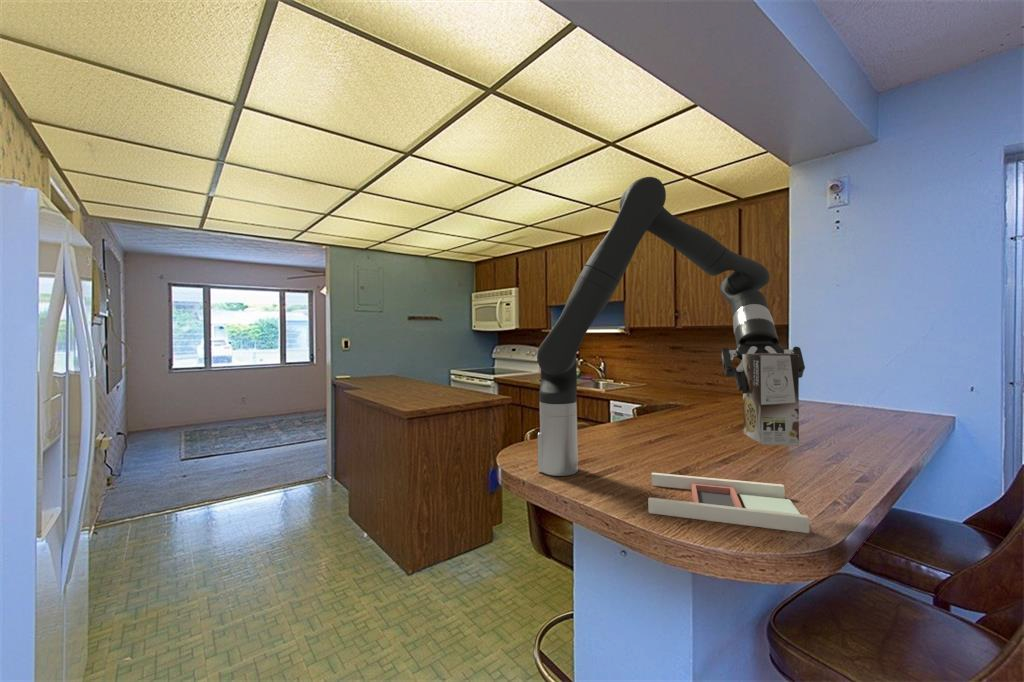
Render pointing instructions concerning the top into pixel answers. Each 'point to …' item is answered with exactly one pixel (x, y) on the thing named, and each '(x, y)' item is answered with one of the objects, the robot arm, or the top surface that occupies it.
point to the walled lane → (726, 512)
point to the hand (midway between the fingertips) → (767, 391)
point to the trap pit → (715, 495)
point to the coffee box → (772, 398)
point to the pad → (768, 504)
